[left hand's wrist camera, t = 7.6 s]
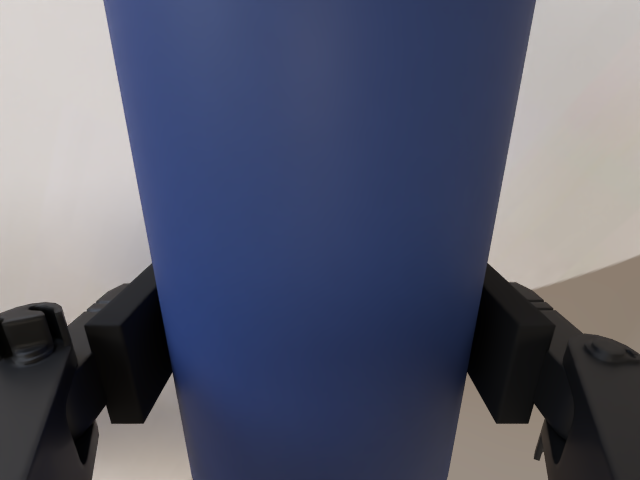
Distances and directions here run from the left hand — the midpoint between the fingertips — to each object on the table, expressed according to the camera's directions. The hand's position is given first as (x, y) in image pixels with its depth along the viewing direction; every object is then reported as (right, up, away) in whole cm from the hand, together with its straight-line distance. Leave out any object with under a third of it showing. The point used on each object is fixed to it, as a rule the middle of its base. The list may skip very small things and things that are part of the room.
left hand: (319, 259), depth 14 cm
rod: (0, +8, -2) cm, 8 cm away
